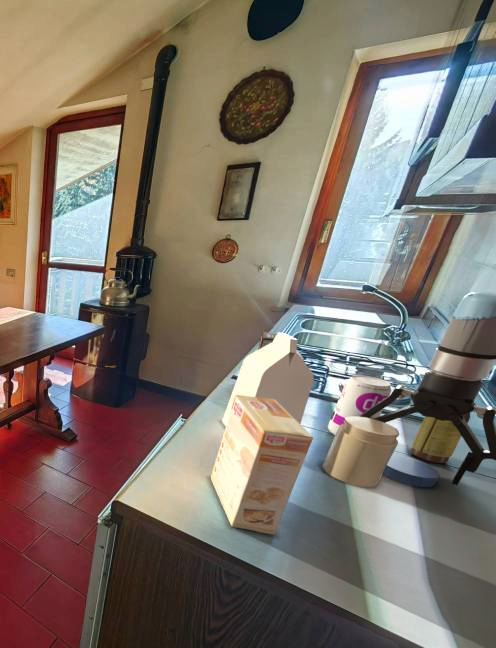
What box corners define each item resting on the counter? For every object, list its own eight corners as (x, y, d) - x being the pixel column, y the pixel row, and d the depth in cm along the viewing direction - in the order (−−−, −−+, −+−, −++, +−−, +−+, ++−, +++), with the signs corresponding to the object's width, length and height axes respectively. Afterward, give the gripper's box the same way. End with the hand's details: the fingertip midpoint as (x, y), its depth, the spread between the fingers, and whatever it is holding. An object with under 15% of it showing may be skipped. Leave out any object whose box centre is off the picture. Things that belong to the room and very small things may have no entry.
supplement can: (375, 445, 95) (402, 389, 89) (334, 439, 97) (357, 384, 92) (359, 430, 102) (382, 377, 96) (321, 424, 104) (342, 372, 99)
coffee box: (249, 375, 138) (262, 331, 131) (270, 379, 134) (285, 334, 128) (248, 383, 131) (262, 337, 124) (271, 388, 127) (287, 340, 121)
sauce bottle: (455, 463, 88) (501, 382, 80) (432, 465, 87) (477, 384, 79) (420, 448, 94) (461, 371, 86) (399, 450, 93) (438, 373, 85)
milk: (221, 421, 105) (248, 327, 95) (269, 426, 103) (301, 331, 93) (239, 444, 94) (271, 341, 84) (292, 450, 92) (332, 345, 82)
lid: (445, 492, 78) (451, 482, 78) (385, 480, 82) (390, 471, 81) (418, 466, 87) (423, 458, 86) (364, 457, 90) (368, 448, 89)
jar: (382, 477, 83) (406, 427, 78) (372, 493, 78) (397, 441, 73) (329, 457, 89) (349, 411, 85) (316, 471, 84) (337, 422, 80)
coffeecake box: (276, 536, 67) (316, 437, 59) (230, 527, 68) (262, 430, 61) (247, 484, 80) (276, 398, 72) (209, 477, 82) (233, 393, 74)
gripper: (563, 390, 68) (500, 489, 76) (373, 354, 86) (338, 437, 95) (565, 401, 64) (498, 504, 72) (365, 360, 82) (329, 446, 90)
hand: (407, 466), depth 83 cm, fingers open, 13 cm apart
